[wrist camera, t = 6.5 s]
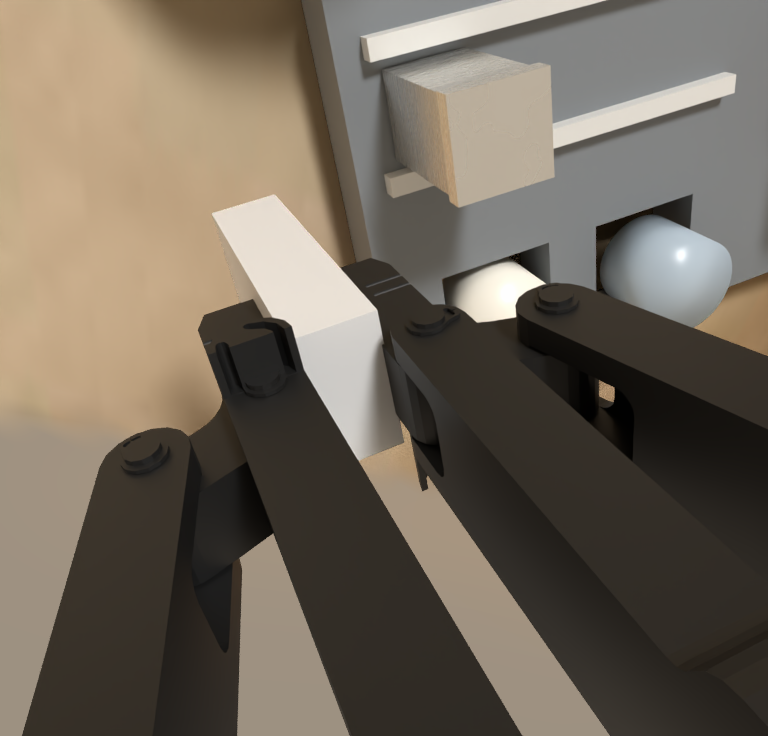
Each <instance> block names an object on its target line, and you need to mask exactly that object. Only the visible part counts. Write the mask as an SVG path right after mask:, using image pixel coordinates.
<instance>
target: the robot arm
mask: <svg viewBox="0 0 768 736" xmlns="http://www.w3.org/2000/svg"><path fill="white" fill-rule="evenodd" d="M211 214H212V217H213V220H214V223H215V226H216V229H217V232H218V235H219V238H220V241H221V245H222V248H223V251H224V254H225V257H226V260H227V263H228V266H229V269H230V272H231V276H232V279H233V282H234V285H235V288H236V291H237V294H238V297H239V300H240V303H239V304H236V305H233V306H230V307H227V308H224V309H221V310H218V311H215V312H212V313H209V314H206V315H204V317H203V319H202V321H201V324H200V326H199V329H198V331H199V334H200V337H201V340H202V342H203V345H204V348H205V350H206V353H207V356H208V359H209V361H210V364H211V367H212V369H213V372H214V375H215V378H216V380H217V383H218V386H219V388H220V391H221V394H222V400H223V401H222V404H221V408H220V409H219V411H218V413H217V414H216V416H215V417H214V418H213V419H212V420H211V421H210V422H209V423H208V424H207V425H205V426H204V427H203V428H201V429H200V430H198V431H197V432H195V433H194V434H192V435H190V436H189V437H188V436H187V435H186V434H185V433H183V432H182V431H181V430H177V429H172V428H157V429H150V430H147V431H144V432H141V433H137V434H135V435H133V436H131V437H130V438H127V439H126V440H124V441H123V442H121V443H119V444H118V445H117V446H116V447H115V448H114V449H113V450H111V451H110V452H109V453H108V454H107V455H106V457H105V458H104V460H103V462H102V464H101V466H100V468H99V471H98V474H97V478H96V481H95V485H94V489H93V492H92V495H91V499H90V502H89V506H88V509H87V513H86V516H85V520H84V523H83V526H82V530H81V534H80V537H79V540H78V544H77V547H76V551H75V554H74V558H73V561H72V565H71V568H70V572H69V575H68V578H67V582H66V586H65V589H64V592H63V596H62V600H61V603H60V606H59V610H58V613H57V617H56V620H55V624H54V627H53V630H52V634H51V637H50V641H49V644H48V648H47V651H46V655H45V658H44V661H43V665H42V669H41V672H40V675H39V679H38V682H37V686H36V689H35V693H34V696H33V699H32V703H31V706H30V710H29V714H28V717H27V720H26V724H25V727H24V731H23V734H22V736H237V717H238V685H239V684H238V683H239V652H240V617H241V586H242V568H241V564H240V559H239V558H240V557H241V556H243V555H244V554H245V553H247V552H248V551H249V550H251V549H252V548H254V547H255V546H256V545H258V544H259V543H260V542H262V541H263V540H264V539H266V538H267V537H269V536H270V535H271V534H274V536H275V539H276V542H277V544H278V547H279V549H280V552H281V555H282V557H283V560H284V563H285V565H286V568H287V570H288V573H289V576H290V579H291V581H292V584H293V587H294V589H295V592H296V595H297V597H298V600H299V603H300V605H301V608H302V610H303V613H304V616H305V618H306V621H307V624H308V626H309V629H310V631H311V634H312V637H313V639H314V642H315V645H316V648H317V650H318V653H319V655H320V658H321V661H322V664H323V666H324V669H325V671H326V674H327V676H328V679H329V682H330V685H331V687H332V690H333V693H334V695H335V698H336V701H337V703H338V706H339V709H340V711H341V714H342V716H343V719H344V722H345V724H346V727H347V730H348V732H349V735H350V736H522V735H521V733H520V731H519V730H518V728H517V726H516V725H515V723H514V721H513V720H512V718H511V716H510V715H509V713H508V711H507V710H506V708H505V706H504V705H503V703H502V701H501V699H500V698H499V696H498V695H497V693H496V691H495V689H494V688H493V686H492V684H491V683H490V681H489V679H488V678H487V676H486V674H485V673H484V671H483V669H482V668H481V666H480V664H479V663H478V661H477V659H476V658H475V656H474V654H473V653H472V651H471V649H470V647H469V646H468V644H467V642H466V641H465V639H464V637H463V636H462V634H461V632H460V631H459V629H458V627H457V626H456V624H455V622H454V621H453V619H452V617H451V616H450V614H449V612H448V611H447V609H446V607H445V606H444V604H443V602H442V600H441V599H440V597H439V596H438V594H437V592H436V590H435V589H434V587H433V585H432V584H431V582H430V580H429V579H428V577H427V575H426V574H425V572H424V570H423V569H422V567H421V565H420V564H419V562H418V560H417V559H416V557H415V555H414V554H413V552H412V550H411V549H410V547H409V545H408V543H407V542H406V540H405V538H404V537H403V535H402V533H401V532H400V530H399V528H398V527H397V525H396V523H395V522H394V520H393V518H392V517H391V515H390V513H389V512H388V510H387V508H386V506H385V505H384V503H383V501H382V500H381V498H380V496H379V495H378V493H377V491H376V490H375V488H374V486H373V485H372V483H371V481H370V480H369V478H368V476H367V475H366V473H365V471H364V470H363V468H362V466H361V465H360V463H359V460H361V459H364V458H366V457H369V456H372V455H374V454H377V453H379V452H382V451H384V450H387V449H389V448H392V447H394V446H397V445H399V444H402V443H404V439H403V434H402V429H401V424H400V420H401V421H402V423H403V424H404V425H405V427H406V428H407V429H408V431H409V432H410V436H411V442H412V447H413V452H414V457H415V462H416V467H417V472H418V477H419V482H420V485H421V488H422V491H424V490H427V489H428V485H427V480H426V478H427V475H428V476H429V478H430V479H431V481H432V482H433V483H434V485H435V486H436V488H437V489H438V491H439V492H440V493H441V495H442V496H443V498H444V499H445V501H446V502H447V503H448V505H449V506H450V508H451V509H452V511H453V512H454V513H455V515H456V516H457V518H458V519H459V521H460V522H461V523H462V525H463V526H464V528H465V529H466V531H467V532H468V533H469V535H470V536H471V538H472V539H473V541H474V542H475V543H476V545H477V546H478V548H479V549H480V550H481V552H482V553H483V555H484V556H485V558H486V559H487V561H488V562H489V563H490V565H491V566H492V568H493V569H494V571H495V572H496V573H497V575H498V576H499V578H500V579H501V581H502V582H503V583H504V585H505V586H506V588H507V589H508V591H509V592H510V593H511V595H512V596H513V598H514V599H515V601H516V602H517V603H518V605H519V606H520V608H521V609H522V611H523V612H524V613H525V615H526V616H527V618H528V619H529V621H530V622H531V623H532V625H533V626H534V628H535V629H536V631H537V632H538V633H539V635H540V636H541V638H542V639H543V640H544V642H545V643H546V645H547V646H548V648H549V649H550V651H551V652H552V653H553V655H554V656H555V658H556V659H557V661H558V662H559V663H560V665H561V666H562V668H563V669H564V671H565V672H566V673H567V675H568V676H569V678H570V679H571V681H572V682H573V683H574V685H575V686H576V688H577V689H578V691H579V692H580V693H581V695H582V696H583V698H584V699H585V701H586V702H587V703H588V705H589V706H590V708H591V709H592V711H593V712H594V713H595V715H596V716H597V718H598V719H599V721H600V722H601V723H602V725H603V726H604V728H605V729H606V730H607V732H608V733H609V735H610V736H768V356H766V355H763V354H760V353H758V352H755V351H752V350H750V349H747V348H745V347H742V346H739V345H737V344H734V343H731V342H729V341H726V340H724V339H721V338H718V337H716V336H713V335H710V334H708V333H705V332H702V331H700V330H697V329H695V328H692V327H689V326H687V325H684V324H681V323H679V322H676V321H673V320H671V319H668V318H666V317H663V316H660V315H658V314H655V313H652V312H650V311H647V310H644V309H642V308H639V307H637V306H634V305H631V304H629V303H626V302H623V301H621V300H618V299H615V298H613V297H610V296H608V295H605V294H602V293H600V292H597V291H594V290H592V289H589V288H586V287H583V286H579V285H575V284H570V283H549V284H544V285H540V286H538V287H535V288H533V289H530V290H528V291H526V292H525V293H524V294H522V295H521V296H520V297H519V298H518V300H517V302H516V305H515V308H516V317H514V318H508V319H502V320H496V321H489V322H479V323H478V322H476V321H475V320H474V319H473V318H471V317H470V316H469V315H468V314H467V313H466V312H465V311H463V310H461V309H459V308H457V307H455V306H450V305H444V304H435V305H432V304H431V303H430V302H429V301H428V300H427V299H426V298H425V297H424V296H423V295H422V294H421V293H420V292H419V291H418V290H417V289H415V288H414V287H413V286H412V285H411V284H409V282H408V281H407V280H406V279H405V278H404V277H403V276H400V273H399V272H398V271H396V270H395V269H394V268H393V267H392V266H391V265H390V264H389V263H385V262H382V261H379V260H376V259H373V258H369V259H366V260H363V261H360V262H357V263H354V264H351V265H348V266H345V267H342V268H340V267H339V266H338V265H337V264H336V263H335V262H334V261H333V259H332V258H331V257H330V256H329V255H328V254H327V253H326V252H325V250H324V249H323V248H322V247H321V246H320V245H319V244H318V243H317V241H316V240H315V239H314V238H313V237H312V236H311V235H310V234H309V232H308V231H307V230H306V229H305V228H304V227H303V226H302V225H301V223H300V222H299V221H298V220H297V219H296V218H295V217H294V216H293V214H292V213H291V212H290V211H289V210H288V209H287V208H286V207H285V205H284V204H283V203H282V202H281V201H280V200H279V199H278V198H277V196H276V195H275V194H274V195H271V196H268V197H264V198H261V199H258V200H254V201H251V202H248V203H244V204H241V205H238V206H234V207H231V208H228V209H224V210H221V211H218V212H214V213H211ZM599 380H600V381H602V382H604V383H606V384H609V385H611V386H613V387H615V399H614V402H611V401H607V400H605V399H603V398H601V397H599Z"/></svg>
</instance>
